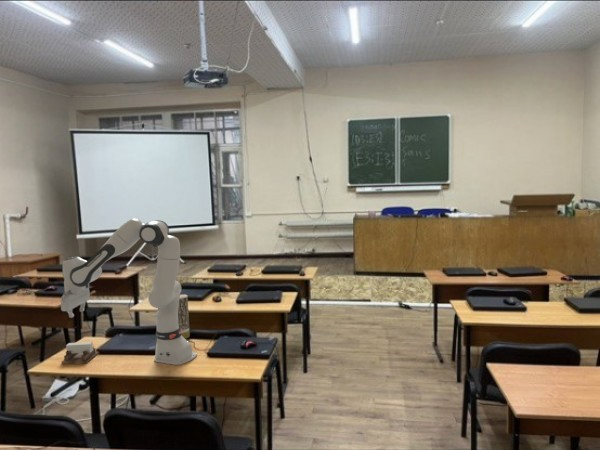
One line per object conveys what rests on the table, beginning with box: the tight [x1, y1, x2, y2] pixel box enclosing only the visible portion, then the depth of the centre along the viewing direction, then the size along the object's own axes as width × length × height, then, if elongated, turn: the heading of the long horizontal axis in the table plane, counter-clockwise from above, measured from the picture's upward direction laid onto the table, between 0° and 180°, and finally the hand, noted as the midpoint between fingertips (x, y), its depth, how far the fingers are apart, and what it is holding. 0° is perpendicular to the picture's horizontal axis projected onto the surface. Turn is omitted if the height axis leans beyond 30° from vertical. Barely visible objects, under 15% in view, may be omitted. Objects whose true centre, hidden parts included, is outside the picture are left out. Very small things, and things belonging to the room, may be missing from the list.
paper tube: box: [178, 294, 191, 340], centre depth 238 cm, size 7×7×25 cm
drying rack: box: [61, 346, 100, 365], centre depth 213 cm, size 13×12×5 cm
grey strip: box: [65, 341, 94, 353], centre depth 213 cm, size 12×3×4 cm, turn 94°
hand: (77, 314), depth 211 cm, fingers open, 8 cm apart
